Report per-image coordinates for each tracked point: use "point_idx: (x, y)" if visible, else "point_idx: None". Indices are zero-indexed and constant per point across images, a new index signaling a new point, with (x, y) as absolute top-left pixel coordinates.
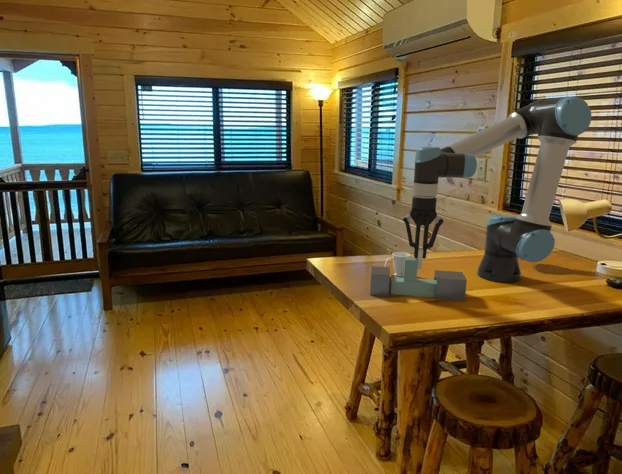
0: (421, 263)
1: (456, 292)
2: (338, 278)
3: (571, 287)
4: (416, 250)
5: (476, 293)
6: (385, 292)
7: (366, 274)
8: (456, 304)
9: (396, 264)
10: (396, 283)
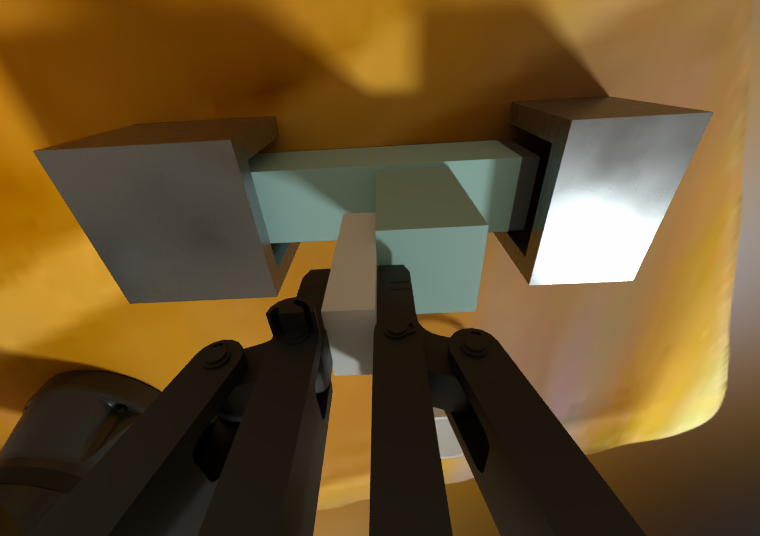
0: (343, 232)
1: (150, 130)
2: (686, 284)
3: None
4: (395, 313)
5: None
6: (538, 102)
7: (553, 344)
8: (160, 67)
9: None
10: (487, 156)
